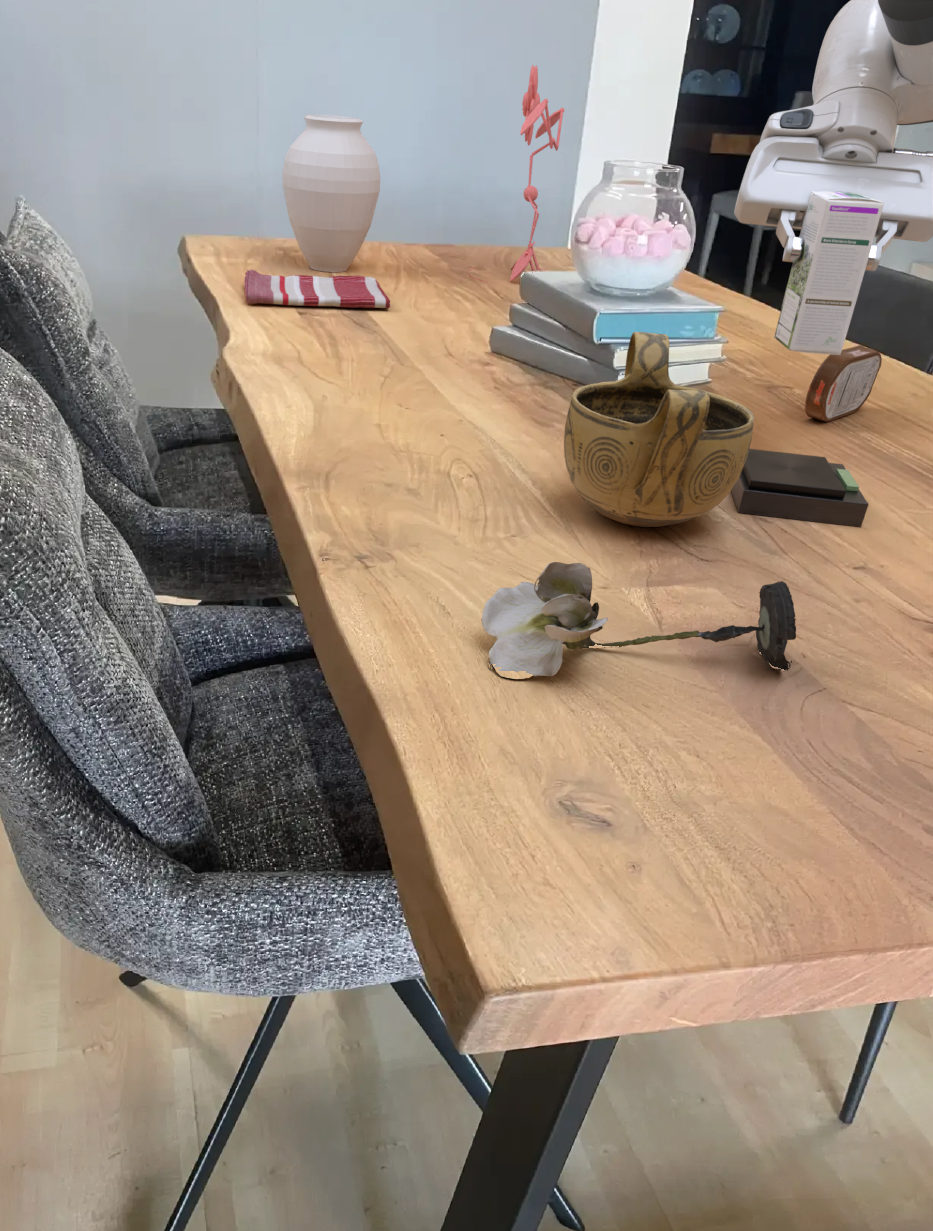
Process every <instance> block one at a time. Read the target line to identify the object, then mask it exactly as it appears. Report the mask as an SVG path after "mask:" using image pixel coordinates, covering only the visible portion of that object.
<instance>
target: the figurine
mask: <svg viewBox="0 0 933 1231" xmlns="http://www.w3.org/2000/svg"><path fill="white" fill-rule="evenodd" d="M538 69H539V68H538V66H537V65H534V64H532V65H531V67H530V73H529V78H528V79H529V80H528V87H527V91H526V92H525V93H524V94H523V98H522V103H521V105H522V109H521V110H522V115H523V117H525V119H524V122H523V124H522V126H521V129H520V134H519V135H520V136H523V135H524V142H525V143H527V146H530V145H531V144H532V139H533V134H534V127H535V125H534V124H535V123H536V122H537V121H538V120H539V118H541V119H542V123H541V124H540V126H539V127H538V129H537V131H536V132H535V136H534V138H535V139H538V138H540V137H541V136H542V135H544V134H545V133H546V134H547V135H548V143H545V144H543V146H541V147H539V148H537V149H536V150H534V151H533V152H531V154H530V155H529V168H528V172H529V173H528V185H527V186H526V188H524V190H523V198H524V200H525V201H526V202H528V203H530V204H531V206H532V208H533V211H534V214H533V219H532V226H531V230H530V237H529V241H528V244H527V249H526V250H525V251H524V252H523V253H522V254H521V255H520V256H519V258H518V259H517V260H516V261H515V263H514V264H513V265H512V267H511V268H510V270H511V276H510V280H509V281H510V282H511V283H512V282H513V281H514V280H516V279H517V278H518V277H519V276H521V274H522V273H523V272H524V271H525V269H527V267H528V265H529V266H530V268H531V272H532V271H535V272H536V271H537V270H540V271H541V270H544V271H546V270H547V268H541V267H539V266H540V265H539V263H538V260H537V256H536V254H535V250H534V245H535V244H536V242H535V241H533V237H534V234H535V230H536V227H537V224H538V220H539V216H540V213H539V211H538V204H537V203H536V200H537V199H538V196H539V193H538V192H539V191H538V189H537V187H536V186H534V185H532V173H533V161H534V156H536V155H537V154H539V153H540V152H541V151H543V150H544V149H546V148H548V147H549V148H550V150H552V149H553V148H554V150H555V151H556V152H557V151H558V150H559V146H560V139H561V130H562V124H563V117H564V112H565V108H564V107H560V108H559V109H558V110H556V111H554V112H552V114H550V112H549V106H548V104H549V100H548V98H544V99H543V101H541V96H540V94H539V92H538V88H539V75H538V74H539V70H538ZM544 111H545V112H544ZM557 123H558V129H557V135H556V139H555V138H554V137H553V135H552V128H553V127H554V126H555V125H556V124H557ZM532 241H533V242H532ZM532 259H533V260H532ZM477 268H478V267H477V266H476V267H475V266H474V267H472V268H470V269H468V271H467V272H469V271H471V270H473V269H477ZM467 275H468V278H472V279H474V280H478V281H481V282H483V283H484V282H485V283H487V280H482V279H479V278H477V277H474V276H472V275H471V274H469V273H467Z"/></svg>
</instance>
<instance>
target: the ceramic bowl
mask: <svg viewBox="0 0 933 1231" xmlns="http://www.w3.org/2000/svg"><path fill="white" fill-rule="evenodd" d="M669 363H670V338H669V336H668V335H667V334H665V333H655V332H645V331H633V332H632V334H631V335H630V339H629V343H628V347H627V352H626V358H625V368H624V376H623V378H620V379H618V380H614V381H601V382H597V383H590V384H587V385H582V386H580V387H577V388H576V389H575V390H574V391H573V393H572V395H571V399H570V403H569V406H568V410H567V415H566V420H565V424H564V432H563V433H564V434H563V436H564V437H563V454H564V455H563V457H564V462H565V467H566V471H567V474H568V476H569V479H570V481H571V483H572V485H573V487H574V489H575V490H576V492H577V493H578V494H579V496H580V497H581V498H582V499H583V501H584V502H585V503H586V504H587V505H588V506H590V508H592V509H593V510H595V511H596V512H597V513H599V514H600V515H602V516H604V517H606V518H608V519H610V520H613V521H615V522H617V523H621V524H623V525H628V526H633V527H639V528H640V527H641V528H661V527H666V526H673V525H677V524H678V525H679V524H682V523H685V522H688V521H692V520H694V519H696V518H698V517H701V516H702V515H704V514H706V513H707V512H709V511H711V510H713V509H714V508H715V507H718V505H719V504H721V502H722V501H724V500H725V499H726V498H727V496H728V495H729V494H730V493H731V489H732V488H733V486H734V485H735V483H736V482H737V480H738V479H739V476H740V474H741V471H742V469H743V466H744V464H745V461H746V459H747V456H748V452H749V449H751V448H750V447H751V443H752V440H753V430H754V423H755V415H754V414H753V412H752V411H751V410H750V409H749V408H748V407H746V406H745V405H743V404H742V403H740V402H738V401H736V400H733V399H730V398H728V397H725V396H723V395H720V394H717V393H714V392H710V391H706V390H702V389H698V388H693V387H689V386H683V385H678V384H675V383H674V382H673V381H672V380H671V377H670V373H669V372H670V371H669Z"/></svg>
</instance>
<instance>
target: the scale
mask: <svg viewBox="0 0 933 1231" xmlns="http://www.w3.org/2000/svg"><path fill="white" fill-rule="evenodd" d="M730 494H731V496H732V499H733V502H734V506H735V508H736V510H737V513H738V514H744V515H745V514H746V515H754V516H755V515H756V516H763V517H770V518H772V517H773V518H780V519H781V518H782V519H789V520H797V521H807V522H815V523H822V522H824V523H825V524H831V525H840V524H841V525H840V526H849V527H859V528H861V527H862V526H863V523H864V520H865V516H866V514H867V512H868V508H869V502H868V500H866V497H865V496H864V495H863V493H862V492H861V490H860V485H859V484H858V483H857V481H856V480H855V478H854V476H853V475H852V473H851V472H850V470H848V469H846V466H844V464H842V463H835V462H829V461H828V459H827V457H825V456H818V455H810V454H809V455H808V454H801V453H800V454H799V453H792V452H781V451H774V450H764V449H756V448H749V452H748V456H747V459H746V461H745V464H744V466H743V469H742V471H741V474H740V476H739V479H738V480H737V482H736V483H735V485H734V486H733V488H732V489H731V491H730Z"/></svg>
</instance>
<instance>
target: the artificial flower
mask: <svg viewBox="0 0 933 1231" xmlns="http://www.w3.org/2000/svg"><path fill="white" fill-rule="evenodd" d="M592 591H593V575H592V570H591V567H589V566H587V565H586V564H584V563H581V562H572V563H565V562H561V561H551V562H549V563H548V564H546V565H545V567H544V569H543V570H542V572H541V573H540V574H539V576H538V577H537V578H536V579H535V582H534V583H533V582H530V581H522V582H519V583H518V585H516V586H515V587H499V588H498V589H497V590H496V591H495V592H494V593H493V595H492V596H491V597H490V598H489V599H488V600H487V601H486V602H484V606H483V609H482V615H481V626H482V628H483V630H484V631H485V632H486V633H487V634H488V635H490V636H492V637H494V638H496V641H494V644H493V645H492V646H491V648H490V650H489V652H488V656H489V657H488V658H489V659H488V660H489V661H490V665H491V664H496V665H495V666H493V667H501V669H499V671H515V672H519V671H526V673H529V674H532V675H534V677H553V676H555V675H556V674H557V673H558V671H559V670H561V666H562V664H563V659H564V658H563V654H564V651H563V650H564V648H563V645H565V647H566V648H567V649H568V650H582V649H581V648H589V646H594V645H595V644H597V645H602V646H615V647H617V646H619V647H618V648H623V647H627V646H639V645H644V644H649V643H656V642H658V641H672V640H686V639H691V638H702V639H703V640H705V641H706V640H710V641H712V642H714V643H718V642H725V641H729V640H731V639H736V638H738V637H740V636H742V635H745V634H750V633H752V632H754V631H755V638H756V639H755V640H756V647H757V651H758V650H759V652H761V654H762V655H764V656H763V658H764V661H765V660H766V661H765V662H767V661H768V662H769V663H770V664H771V665H772V666H774V667H778V668H781V669H784V670H785V671H784V672H788V671H789V670H790V669H791V667H792V666H791V664H793V660H792V659H791V660H790V661H789V660H788V659H787V657H786V655H785V652H786V648H787V645H788V641H793V640H796V639H797V625H796V620H797V619H796V612H795V607H794V600H793V596H792V594H791V591H790V587H789V586H788V584H787V583H786V582H785V581H783V580H782V581H777V582H774V583H769V584H763V585H762V586H761V587H760V589H759V592H758V593H759V612H758V616H759V618H758V620H757V624H758V626H755V625H749V626H738V625H737V626H736V625H734V624H732V625H727V626H721V627H720V628H718V629H717V630H713V631H710V630H706V631H699V630H693V631H681V632H675V633H673V634H666V635H651V636H649V635H646V636H644V637H637V638H636V639H635V638H634V639H632V640H631V639H627V640H623V641H614V642H605V643H601V642H595V641H594V640H593V639H592V638H591V636H592V635H593V634H595V633H598V632H600V631H601V630H603V629H604V626H603V625H605V624H606V623H607V622H608V620H609V618H608V617H607V616H606V617H605V618H598V616H599V612H600V605H599V602H598V601H597V602H594V603H593V604H592V603H591V600H592ZM597 618H598V619H597ZM622 646H623V647H622ZM589 649H590V648H589ZM759 652H758V653H759ZM768 662H767V663H768ZM493 667H492V668H493Z"/></svg>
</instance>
